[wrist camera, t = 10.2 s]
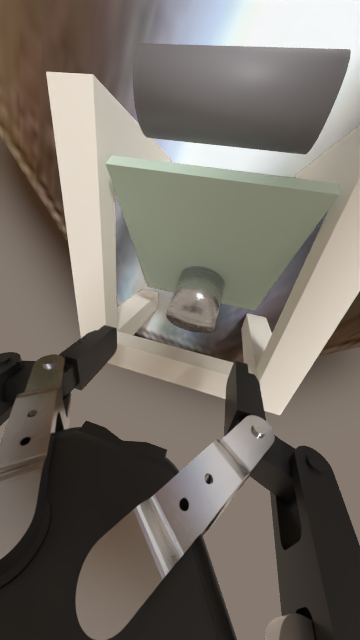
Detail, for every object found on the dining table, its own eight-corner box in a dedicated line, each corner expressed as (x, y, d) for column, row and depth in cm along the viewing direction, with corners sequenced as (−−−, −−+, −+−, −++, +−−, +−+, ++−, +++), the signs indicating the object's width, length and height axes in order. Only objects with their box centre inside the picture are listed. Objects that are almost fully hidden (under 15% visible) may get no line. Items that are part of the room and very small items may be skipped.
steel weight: (228, 272, 18) (218, 318, 16) (220, 298, 23) (211, 336, 21) (178, 262, 19) (163, 305, 17) (180, 289, 23) (168, 325, 21)
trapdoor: (118, 33, 11) (72, 68, 9) (395, 38, 9) (418, 85, 7) (160, 256, 27) (147, 286, 25) (259, 276, 25) (254, 310, 23)
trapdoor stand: (149, 156, 24) (46, 71, 11) (324, 178, 21) (484, 96, 8) (141, 304, 34) (83, 355, 21) (259, 333, 31) (280, 415, 18)
